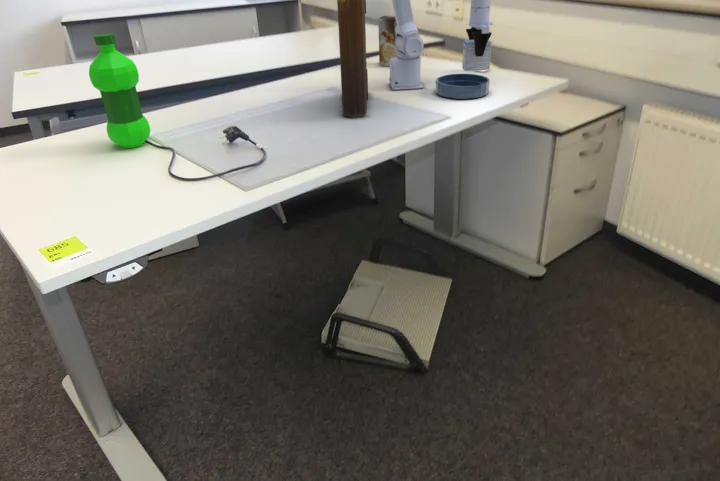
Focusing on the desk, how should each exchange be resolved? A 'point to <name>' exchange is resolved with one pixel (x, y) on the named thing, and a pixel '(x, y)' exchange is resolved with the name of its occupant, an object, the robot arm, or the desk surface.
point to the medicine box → (475, 57)
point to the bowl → (462, 86)
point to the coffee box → (387, 39)
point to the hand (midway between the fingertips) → (476, 54)
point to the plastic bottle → (119, 93)
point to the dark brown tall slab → (353, 56)
